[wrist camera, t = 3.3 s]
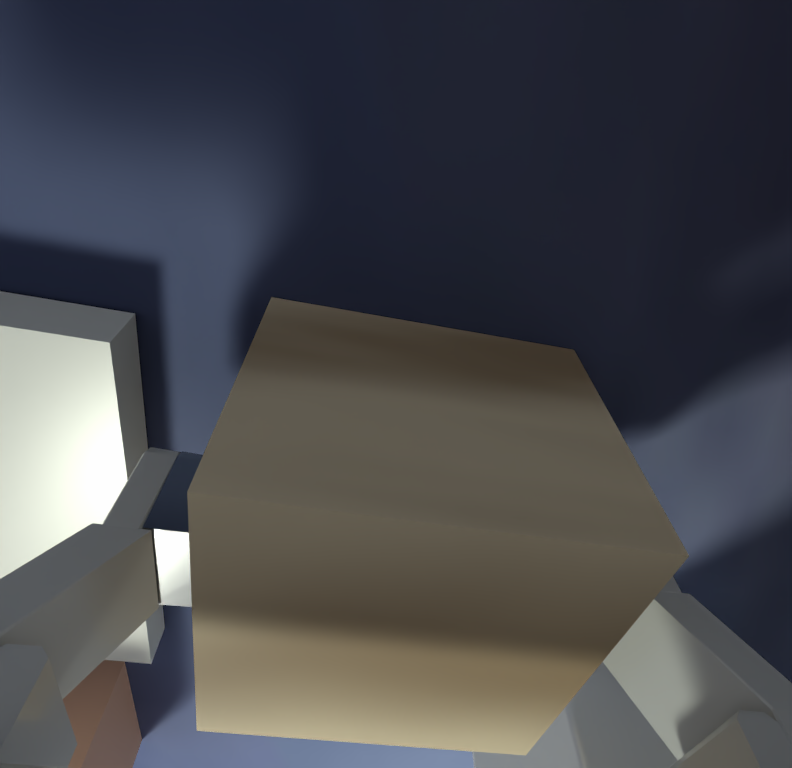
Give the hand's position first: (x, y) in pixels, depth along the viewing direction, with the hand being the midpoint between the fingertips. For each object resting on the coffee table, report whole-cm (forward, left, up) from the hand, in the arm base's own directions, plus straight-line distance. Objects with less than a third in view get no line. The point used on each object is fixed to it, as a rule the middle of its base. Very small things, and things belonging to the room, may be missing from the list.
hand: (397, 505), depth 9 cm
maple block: (0, 0, -2) cm, 2 cm away
